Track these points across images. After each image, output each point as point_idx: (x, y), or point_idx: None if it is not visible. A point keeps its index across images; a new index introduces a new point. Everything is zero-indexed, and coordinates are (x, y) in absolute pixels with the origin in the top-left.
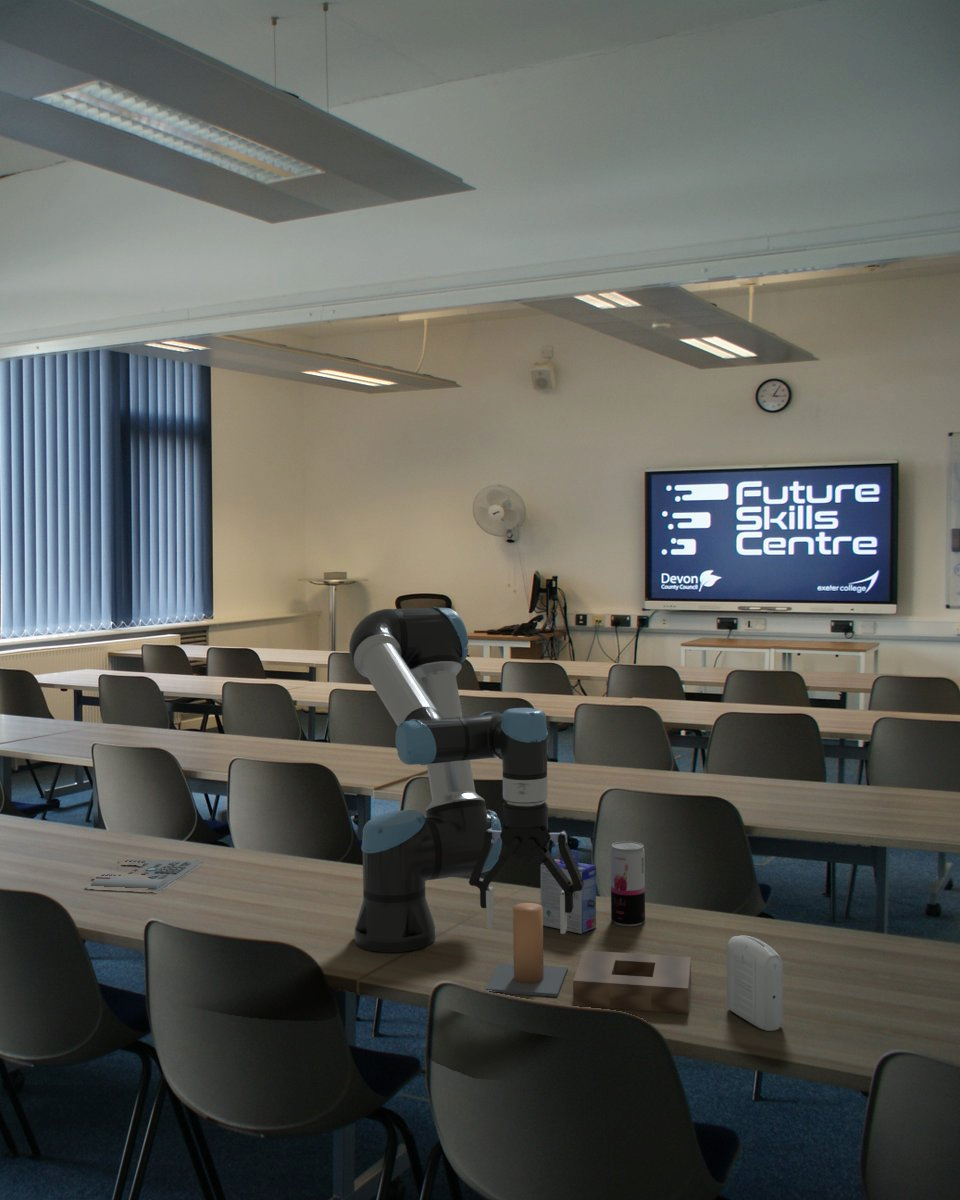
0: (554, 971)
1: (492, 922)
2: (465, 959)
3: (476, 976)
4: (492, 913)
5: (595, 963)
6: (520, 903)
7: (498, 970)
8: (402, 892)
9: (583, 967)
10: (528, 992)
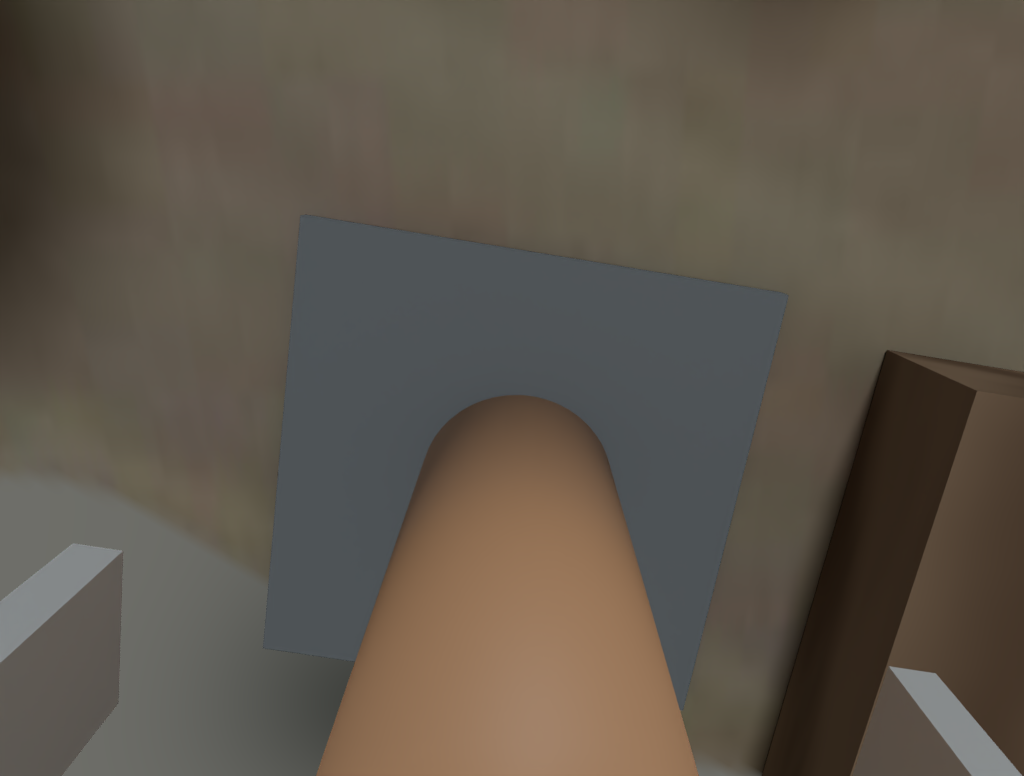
0: (690, 373)
1: (95, 651)
2: (38, 79)
3: (178, 407)
4: (30, 719)
5: (1009, 658)
6: (382, 762)
7: (309, 362)
8: None
9: None
10: None
